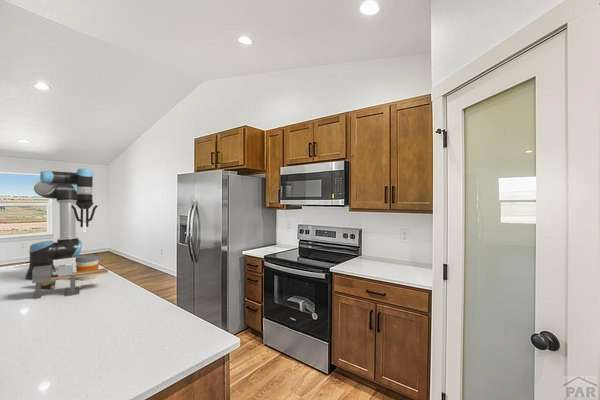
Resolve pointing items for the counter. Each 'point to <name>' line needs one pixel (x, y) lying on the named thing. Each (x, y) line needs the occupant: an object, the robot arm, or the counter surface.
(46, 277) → the balance beam
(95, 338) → the counter surface
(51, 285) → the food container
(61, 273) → the block
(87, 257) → the reusable coffee cup
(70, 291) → the balance stand
